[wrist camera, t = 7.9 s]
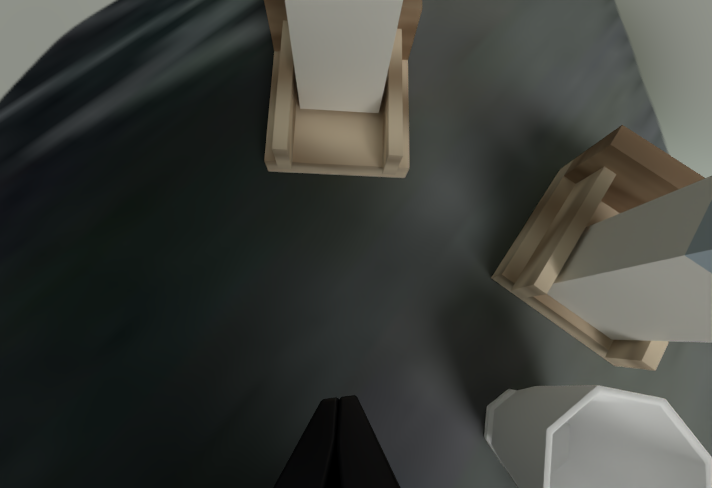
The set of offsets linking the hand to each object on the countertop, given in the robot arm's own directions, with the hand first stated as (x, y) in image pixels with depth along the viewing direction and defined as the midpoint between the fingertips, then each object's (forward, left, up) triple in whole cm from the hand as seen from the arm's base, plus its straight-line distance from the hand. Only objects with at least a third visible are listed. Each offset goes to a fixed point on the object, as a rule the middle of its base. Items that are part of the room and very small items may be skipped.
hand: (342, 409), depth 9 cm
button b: (+12, -9, -11) cm, 19 cm away
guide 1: (+13, +10, -13) cm, 21 cm away
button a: (+14, +10, -11) cm, 21 cm away
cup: (+2, -12, -13) cm, 18 cm away
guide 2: (+14, -9, -13) cm, 21 cm away
